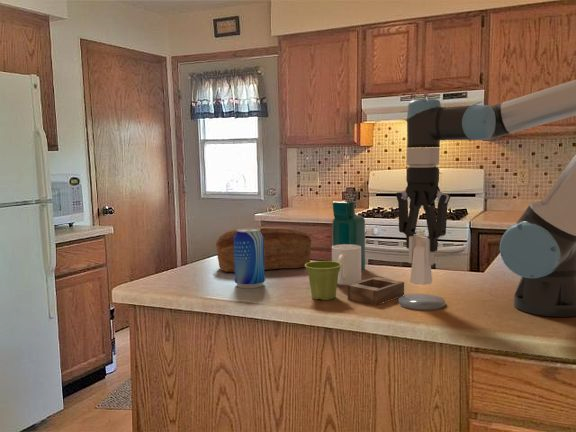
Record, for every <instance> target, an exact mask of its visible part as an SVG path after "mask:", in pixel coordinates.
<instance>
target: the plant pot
mask: <svg viewBox="0 0 576 432" xmlns="http://www.w3.org/2000/svg"><path fill="white" fill-rule="evenodd" d="M341 266H342V264H341V263H339V262H334V261H332V260H316V261H315V260H314V261H310V262H309V263H306V264H305V267H304V268H305V269H306V272H307V274H308V281H309V287H310V294H311V298H312V299H314V300H322V301H329V300H333V299H335V298H336V296H337V287H338V284H337V281H338V273H339V271H340V267H341Z"/></svg>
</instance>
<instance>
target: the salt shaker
mask: <svg viewBox="0 0 576 432" xmlns="http://www.w3.org/2000/svg"><path fill="white" fill-rule="evenodd" d="M426 238H428V236H418V237H416V247H415V248H414V252H413V260H412V263H411V268H410V269H411V270H410V271H411V272H410V278H409V279H410V280H409V282H410V283H411V284H415V285H431V284H432V282H433V276H432V275H433V274H432V265H430V266H426Z"/></svg>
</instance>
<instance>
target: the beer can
mask: <svg viewBox="0 0 576 432" xmlns="http://www.w3.org/2000/svg"><path fill="white" fill-rule="evenodd" d="M236 230H237V233H236V235H235V236H234V265H235V272H234V282H235V284H236V285H237V287H238V288H241V289H250V290H251V289H257V288H261V287H262V286H263V284H264V283H265V281H266V278H265V277H266V276H265V274H266V273H265V268H264V237H263V235H262V234H261V232H260V229H258V228H252V227H243V228H238V229H236Z"/></svg>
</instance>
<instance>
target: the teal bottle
mask: <svg viewBox="0 0 576 432" xmlns="http://www.w3.org/2000/svg"><path fill="white" fill-rule="evenodd" d="M357 204H358V201H356V200H342V201H332V212H333V217H334V218H333V219H332V246H334V245H340V244H353V245H359V246H361V272H362V271H363V270H365V269H366V219H365V217H364V216H361V215H358V214H356V212H355V210H356V209H355V205H357Z"/></svg>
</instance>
